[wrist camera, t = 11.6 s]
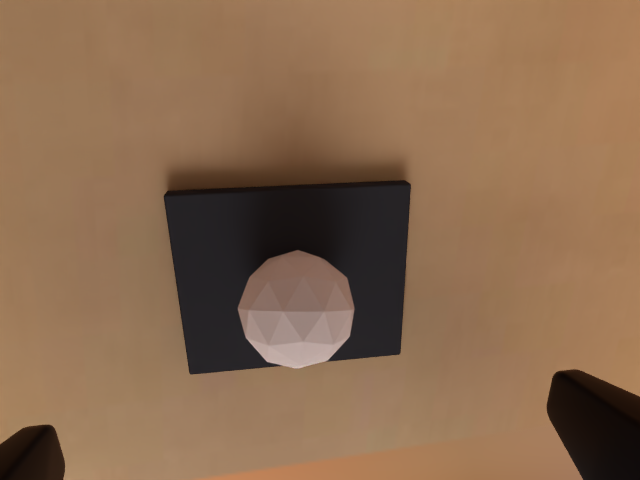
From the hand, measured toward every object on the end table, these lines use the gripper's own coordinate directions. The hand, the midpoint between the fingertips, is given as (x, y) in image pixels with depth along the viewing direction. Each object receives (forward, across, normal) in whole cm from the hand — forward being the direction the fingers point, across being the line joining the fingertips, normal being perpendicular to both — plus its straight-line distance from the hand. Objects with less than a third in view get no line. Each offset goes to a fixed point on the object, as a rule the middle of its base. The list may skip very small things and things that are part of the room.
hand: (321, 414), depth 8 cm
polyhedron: (+5, 0, 0) cm, 5 cm away
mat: (+6, 0, 0) cm, 6 cm away
